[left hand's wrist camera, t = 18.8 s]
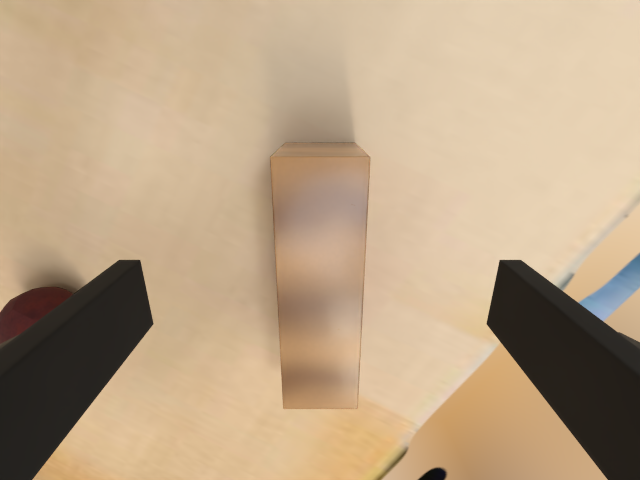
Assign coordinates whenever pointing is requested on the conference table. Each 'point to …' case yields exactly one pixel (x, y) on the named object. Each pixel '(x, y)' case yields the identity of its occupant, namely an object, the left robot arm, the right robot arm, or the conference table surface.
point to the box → (320, 270)
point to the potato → (29, 310)
